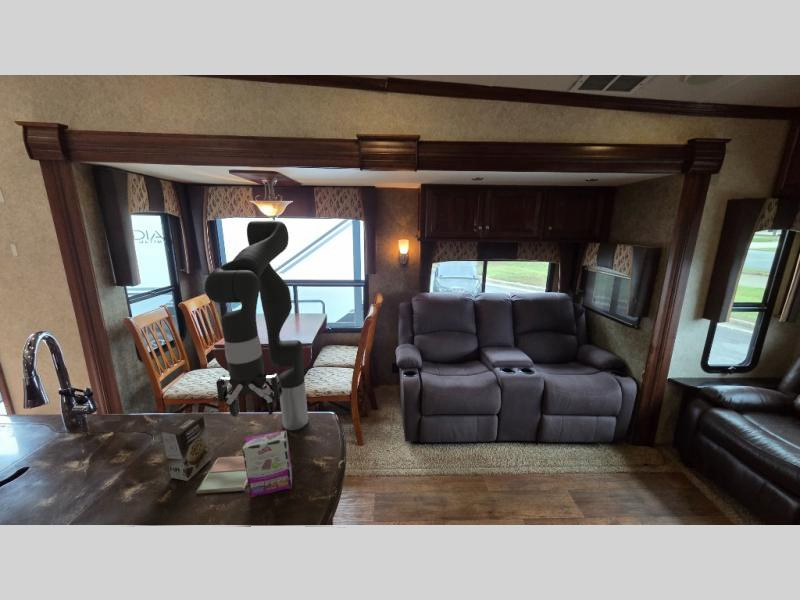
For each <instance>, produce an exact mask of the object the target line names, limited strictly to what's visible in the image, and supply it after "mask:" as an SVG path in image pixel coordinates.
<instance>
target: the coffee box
mask: <svg viewBox="0 0 800 600" xmlns="http://www.w3.org/2000/svg"><path fill="white" fill-rule="evenodd" d="M204 419H205V418H204V416H203V415H193V414H185V415H184V416H182V417H181V418H180V419H178V420H176V421H175V422H174V423H172V424H171V425H170V426H169V427H166V428H165V429H164V430H162V431H161V436H162V441H163V444H164V445H163V446H164V449H165V454H166V459H167V464H168V469H169V474H170V477H171V478H172V479H175V480H176V479H177V480H179V481H180V480H182V481H187V482H188V481H190V480H191V479H192V478H193V477H194V476H195V475H196V474H197V473H198V472H199V471H200V470H201V469H203V467H205V466H206V465H207V464H208V463H209V462H210V461H212V457H211V452H210V447H209V442H208V441H209V440H208V435H207V430H206V425H205V420H204Z"/></svg>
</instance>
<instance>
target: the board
mask: <svg viewBox="0 0 800 600" xmlns="http://www.w3.org/2000/svg"><path fill="white" fill-rule="evenodd" d="M247 486H248V479H247V473H246V468H245V462H244V456H243V455H239V456H222V457H220V456H219V457H217V459H216V460H215V462H214V463H213V465H212V466H211V468H210V470H209V471H208V473H207V474H206V476H205V477H204V479H203V480H202V482H201V484H200V485H199V487H198V488H197V490H196V491H195V492H196V494H198V495H199V494H211V493H213V494H214V493H226V492H227V493H228V492H238V491H239V492H241V491H245V489H246V487H247Z"/></svg>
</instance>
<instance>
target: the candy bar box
mask: <svg viewBox="0 0 800 600" xmlns="http://www.w3.org/2000/svg"><path fill="white" fill-rule="evenodd" d="M287 431H288V430H287V429H284V430H279V431H274V432H269V433H264V434H259V435H258V434H257V435H254V436H248V437H245V439H244V442H243V446H242V456H244V462H245V468H246V473H247V479H248V483H247V486H248V490H249V496H250V498H255V497H259V496H265V495H268V494H273V493H277V492H280V491H284V490H290V489H292V481H293V472H292V463H291V455H290V448H289V447H290V446H289V439H288V432H287Z"/></svg>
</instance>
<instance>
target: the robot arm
mask: <svg viewBox="0 0 800 600" xmlns="http://www.w3.org/2000/svg"><path fill="white" fill-rule="evenodd" d="M246 239H247V243H248V246H247V247H244V248H243V249H242V250H240V251H239V252H238V254H236V256H235V257H234V258H233V259H232V260H231V261H228V262H226V263H224V264H222V265H220V266H218V267H216V268H215V269H213V270H212V271H211V272H210V273H209V274H208V275H207V277H206V278H205V282H204V292H205V295H206V296H207V297H208V299H209V300H211V301H212V302H214V303H218V304H228V303H229V304H231V303H232V304H233V303H234V304H235V303H237V304H238V303H240V304H241V307H240V308H239V309H237V310H233V311H228V312H226V313H225V314H223V315H222V316H221V318H220V319H221V321H220V322H221V328H222V335H223V340H224V353H225V354H224V355H225V356H224V357H225V359H226V364H227V369H228V375H229V377H227V376H226V375H224V374H222V375H221V376H220V377H219V378H218V379H217V381H216V382H215V383H216V392H217V399H218V402H219V403H226V404H227V405H228V408H229V413H230V415H232V417H237V416H238V415H239V413H240V408H239V407H240V406H239V402H238V398H237V397H238V395H239V394H240V395H241V394H242V396H246V395H256V394H257V395H258V396H259V397H261V398H263V399H265V401H266V405H267V413H268V415H273V413H275V411H276V409H277V402H276V400H279V403H280V413H281V420H282V421H281V422H282V427H283V428H284V430H286V431H298V430H300V429H302V428H304V427H306V425H307V424H308V422H309V415H308V404H307V402H308V401H307V392H306V391H307V390H306V383H305V370H304V369H305V367H304V346H303V344H302V341H300V340H298V339H295V340H293V339H291V340H281V338H280V334H281V330H282V328H283V326H284V324H285V322H286V321H287V320H288V318H289V316H290V314H291V312H292V309H293V303H292V296H291V290H290V288H289V286H288V284H287V283H286V282H285V280H284V279H283V278H282V277H281V276H280V275H279V274H278V272H277V271H276V270H275V269H274V268H273V266H272V265H271V263H272V261H273V260H274V259H276V258H277V257H279V256H280V255H281V254H282V253H283V252H284V251H285V250H286V249H287V248H288V245H289V231H288V227H287V226H286V224H285V223H284V222H282V221H279V220H252V221H250V222H248V223H247V227H246ZM259 297H260V302H261V307H262V312H263V317H264V321H265V326H266V333H267V342H268V345H267V346H268V353H269V359H270V363H271V365H272V366H273V367H277V368H284V367H285V368H286V367H287V368H288V367H292V368H290V369H287V370H285V371H283V372H282V373H278V372H275V373H273V374H272V375H271V374H270V375H267V374H266V373H265V365H264V359H263V349H262V343H261V341H260V337H259V331H258V325H257V324H258V323H257V307H258V300H259ZM266 382H267V383H268V384H269V385H270V386H272V387H271V388H272V389H271V388H270V386H269V385H268V384H267V383H266ZM228 385H231V387H232V388H234V390H233V391H232V393H231V394H229V392H228V390H229V389H228Z"/></svg>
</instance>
